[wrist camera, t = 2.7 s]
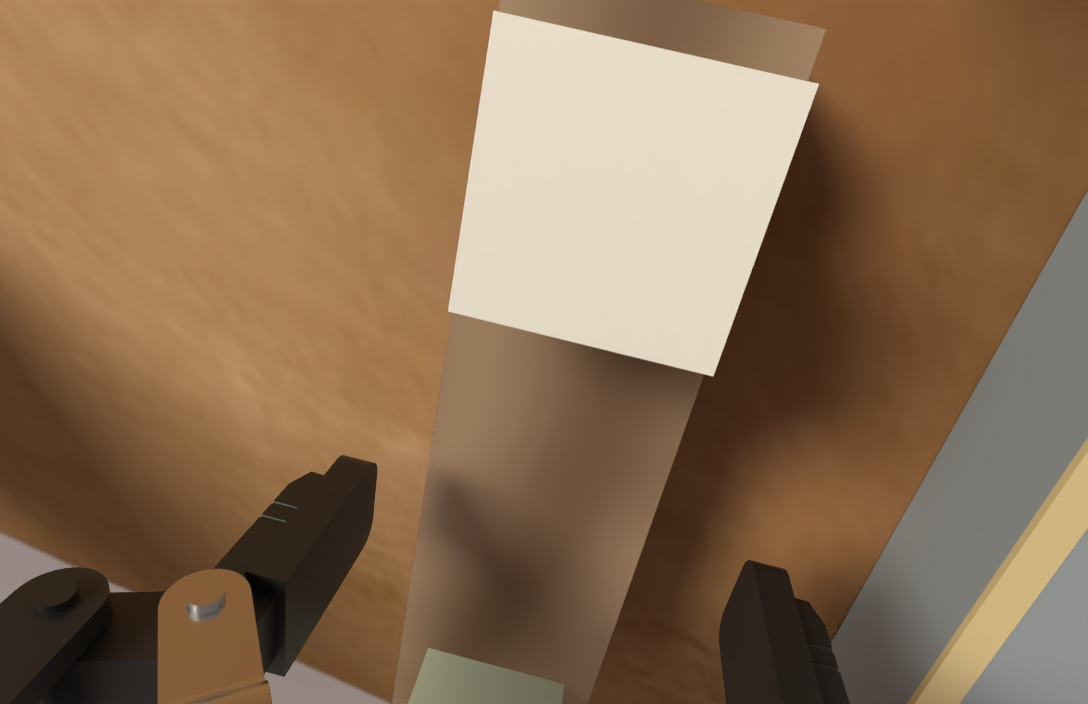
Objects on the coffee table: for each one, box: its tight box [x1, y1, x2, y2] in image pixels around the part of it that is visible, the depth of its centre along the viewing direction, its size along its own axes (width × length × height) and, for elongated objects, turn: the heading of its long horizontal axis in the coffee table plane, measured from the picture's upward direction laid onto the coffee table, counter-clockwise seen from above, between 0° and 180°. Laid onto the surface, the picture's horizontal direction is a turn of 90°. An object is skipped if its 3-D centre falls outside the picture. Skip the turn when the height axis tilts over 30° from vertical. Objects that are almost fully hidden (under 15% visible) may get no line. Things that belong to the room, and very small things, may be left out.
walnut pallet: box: [392, 0, 826, 704], centre depth 17 cm, size 6×22×4 cm, turn 168°
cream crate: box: [448, 11, 819, 376], centre depth 10 cm, size 4×4×4 cm
